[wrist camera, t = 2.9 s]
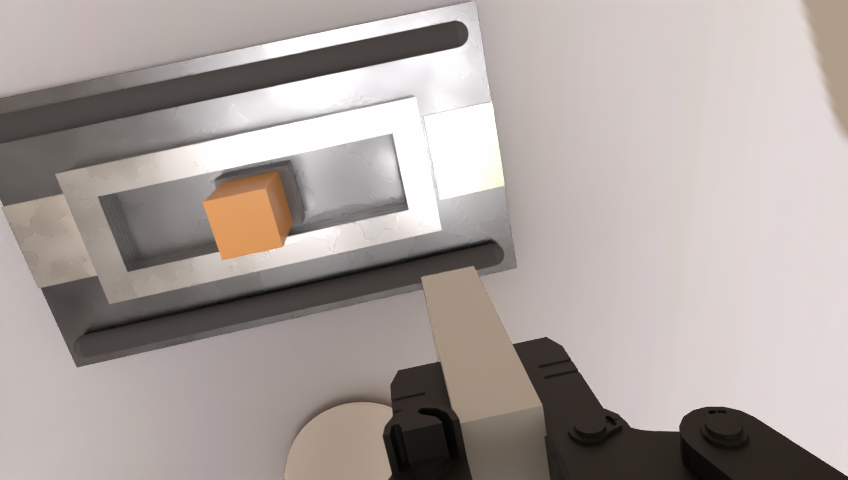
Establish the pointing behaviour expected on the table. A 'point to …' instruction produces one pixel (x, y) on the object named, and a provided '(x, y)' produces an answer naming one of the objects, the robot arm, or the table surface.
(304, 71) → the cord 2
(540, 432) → the robot arm
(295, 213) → the toggle
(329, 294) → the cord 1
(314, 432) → the cup
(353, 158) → the panel
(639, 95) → the table surface
